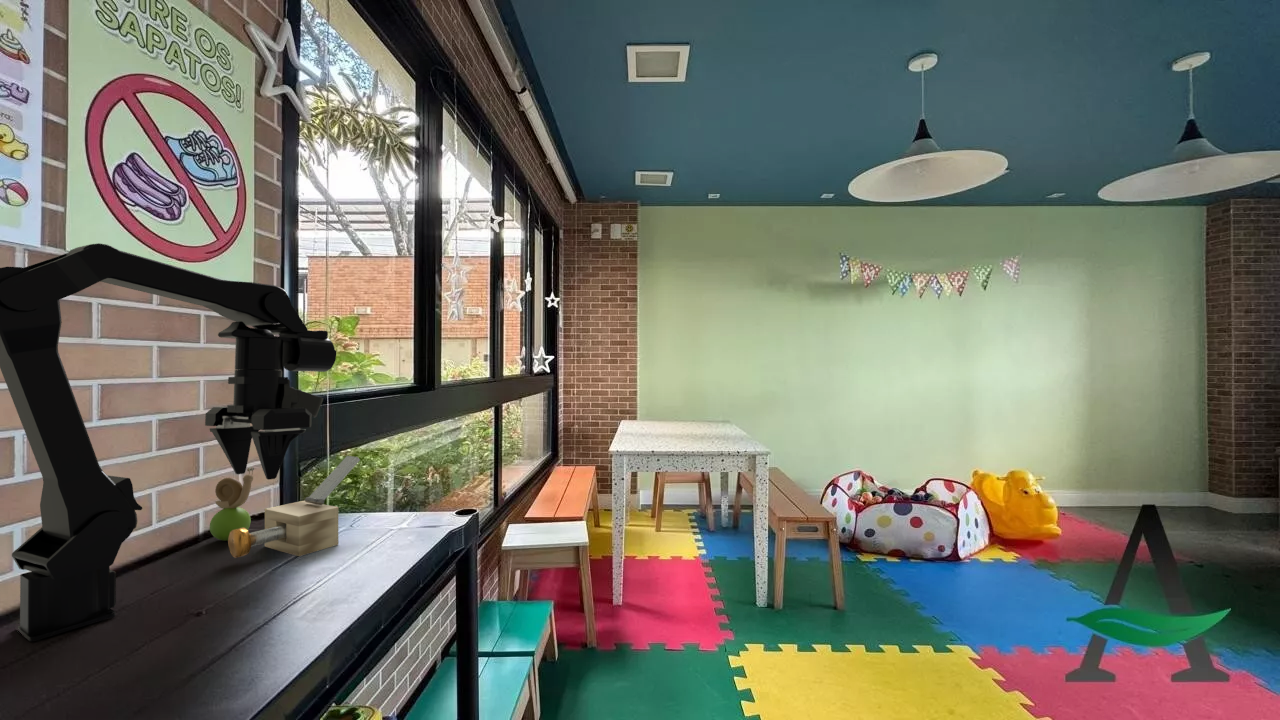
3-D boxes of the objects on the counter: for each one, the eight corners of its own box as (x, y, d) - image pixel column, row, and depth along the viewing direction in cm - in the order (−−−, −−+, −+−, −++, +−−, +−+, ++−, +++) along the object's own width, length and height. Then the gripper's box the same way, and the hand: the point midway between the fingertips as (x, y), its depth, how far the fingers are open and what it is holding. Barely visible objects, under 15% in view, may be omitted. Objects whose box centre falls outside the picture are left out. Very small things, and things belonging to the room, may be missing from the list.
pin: (241, 559, 75) (241, 531, 75) (228, 555, 77) (228, 528, 77) (333, 533, 86) (333, 509, 86) (320, 530, 88) (320, 507, 88)
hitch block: (298, 556, 79) (298, 516, 79) (264, 546, 83) (264, 508, 84) (338, 544, 84) (338, 507, 84) (304, 535, 89) (304, 500, 89)
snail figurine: (239, 544, 85) (239, 470, 85) (200, 545, 85) (200, 471, 85) (264, 534, 90) (264, 464, 90) (227, 534, 90) (227, 465, 90)
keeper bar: (321, 506, 85) (317, 502, 84) (307, 503, 86) (303, 500, 86) (362, 460, 91) (358, 456, 90) (348, 458, 93) (345, 455, 92)
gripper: (349, 370, 80) (346, 473, 79) (285, 372, 89) (282, 464, 88) (267, 368, 70) (263, 485, 69) (205, 371, 79) (201, 474, 78)
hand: (255, 476), depth 76 cm, fingers open, 9 cm apart
